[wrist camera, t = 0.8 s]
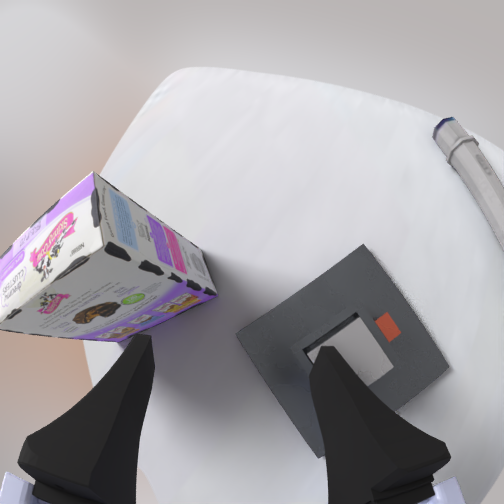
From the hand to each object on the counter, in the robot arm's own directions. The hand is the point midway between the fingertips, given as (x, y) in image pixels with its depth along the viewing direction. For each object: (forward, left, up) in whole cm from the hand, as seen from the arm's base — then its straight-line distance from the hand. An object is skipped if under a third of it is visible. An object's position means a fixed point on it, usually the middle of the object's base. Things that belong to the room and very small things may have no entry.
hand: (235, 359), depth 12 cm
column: (-3, -4, -14) cm, 15 cm away
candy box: (+12, +9, -15) cm, 21 cm away
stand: (-3, -4, -15) cm, 16 cm away
